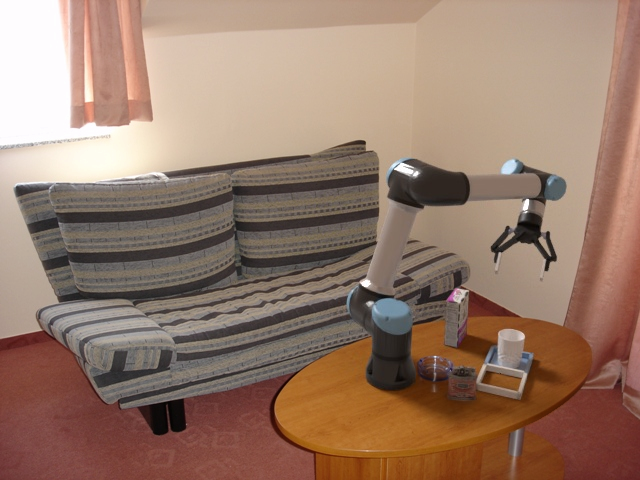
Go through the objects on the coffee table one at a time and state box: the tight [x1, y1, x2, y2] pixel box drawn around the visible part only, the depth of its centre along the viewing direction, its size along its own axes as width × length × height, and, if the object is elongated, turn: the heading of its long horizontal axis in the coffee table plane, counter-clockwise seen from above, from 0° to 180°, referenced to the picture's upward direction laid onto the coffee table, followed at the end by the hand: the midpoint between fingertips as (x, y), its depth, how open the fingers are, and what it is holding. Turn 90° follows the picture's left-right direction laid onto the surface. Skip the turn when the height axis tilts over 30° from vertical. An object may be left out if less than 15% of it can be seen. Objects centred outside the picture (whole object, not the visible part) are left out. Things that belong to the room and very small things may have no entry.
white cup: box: [497, 328, 526, 369], centre depth 199 cm, size 8×8×10 cm
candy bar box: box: [443, 287, 470, 348], centre depth 213 cm, size 11×5×16 cm, turn 153°
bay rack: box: [476, 344, 535, 401], centre depth 195 cm, size 13×25×2 cm, turn 155°
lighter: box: [446, 364, 479, 402], centre depth 182 cm, size 8×3×10 cm, turn 82°
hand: (518, 276), depth 201 cm, fingers open, 13 cm apart
